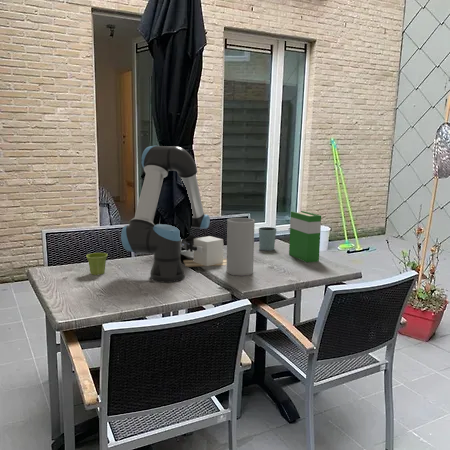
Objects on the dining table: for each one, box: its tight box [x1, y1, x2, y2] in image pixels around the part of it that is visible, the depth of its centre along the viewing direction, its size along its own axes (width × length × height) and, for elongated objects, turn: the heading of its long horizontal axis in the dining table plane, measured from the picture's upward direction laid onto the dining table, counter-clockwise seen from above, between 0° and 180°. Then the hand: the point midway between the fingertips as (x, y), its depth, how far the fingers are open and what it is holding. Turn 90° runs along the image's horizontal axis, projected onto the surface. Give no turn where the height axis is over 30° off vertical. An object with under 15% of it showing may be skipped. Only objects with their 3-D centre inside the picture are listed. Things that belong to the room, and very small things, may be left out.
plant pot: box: [85, 252, 108, 276], centre depth 206 cm, size 9×9×9 cm
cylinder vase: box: [226, 217, 256, 277], centre depth 210 cm, size 12×12×25 cm
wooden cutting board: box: [182, 258, 227, 268], centre depth 227 cm, size 13×24×1 cm, turn 101°
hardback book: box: [288, 210, 322, 263], centre depth 240 cm, size 18×7×24 cm, turn 23°
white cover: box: [193, 235, 224, 267], centre depth 226 cm, size 10×10×12 cm
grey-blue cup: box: [258, 226, 277, 251], centre depth 261 cm, size 10×10×12 cm
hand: (212, 248), depth 223 cm, fingers open, 13 cm apart
